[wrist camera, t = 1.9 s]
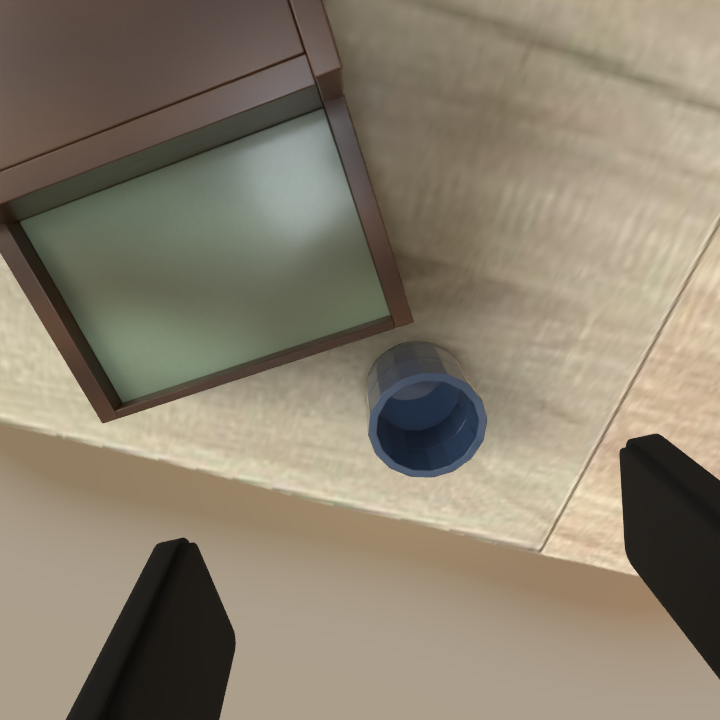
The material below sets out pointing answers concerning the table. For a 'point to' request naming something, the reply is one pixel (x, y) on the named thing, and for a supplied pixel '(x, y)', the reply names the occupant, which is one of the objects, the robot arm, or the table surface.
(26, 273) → the brown wooden drawer box
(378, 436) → the cup
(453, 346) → the table surface
